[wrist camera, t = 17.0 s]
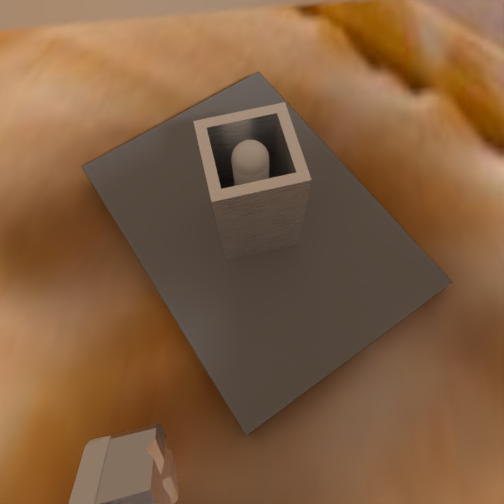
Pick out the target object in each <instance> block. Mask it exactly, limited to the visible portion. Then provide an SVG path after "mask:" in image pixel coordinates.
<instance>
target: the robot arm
mask: <svg viewBox="0 0 504 504" xmlns="http://www.w3.org/2000/svg"><path fill="white" fill-rule="evenodd" d="M165 443H166V435H165V432H164V430H163V428H162V425H160V424H154V425H150V426H146V427H141V428H137V429H133V430H129V431H124V432H120V433H116V434H113V435H110V436H106V437H102V438H97V439H93V440H90V441H89V442H88V443H87V445H86V446H85V448H84V452H83V455H82V458H81V462H80V465H79V469H78V472H77V476H76V479H75V482H74V486H73V489H72V493H71V496H70V500H69V503H68V504H175V502H176V500H177V499H178V497H179V483H178V474H177V467H176V463H175V459H174V456H173V453H172V451H171V450H170V449H168V448H166V447H165Z"/></svg>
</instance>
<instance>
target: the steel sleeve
mask: <svg viewBox="0 0 504 504" xmlns="http://www.w3.org/2000/svg"><path fill="white" fill-rule="evenodd" d="M193 122H194V127H195V131H196V136H197V140H198V144H199V149H200V153H201V158H202V162H203V167H204V171H205V175H206V180H207V184H208V189H209V193H210V198H211V202H212V206H213V210H214V214H215V218H216V222H217V226H218V230H219V234H220V238H221V242H222V246H223V250H224V254H225V258H226V261H227V260H231V259H235V258H240V257H244V256H248V255H253V254H257V253H262V252H266V251H270V250H275V249H279V248H283V247H288V246H292V245H296V244H299V239H300V234H301V229H302V224H303V219H304V214H305V210H306V205H307V200H308V195H309V190H310V185H311V177H310V174H309V171H308V168H307V165H306V162H305V159H304V156H303V153H302V150H301V147H300V145H299V142H298V139H297V136H296V133H295V130H294V127H293V124H292V121H291V118H290V115H289V112H288V109H287V107H286V104H285V102H283V103H278V104H273V105H268V106H263V107H259V108H254V109H249V110H244V111H239V112H235V113H230V114H225V115H220V116H215V117H210V118H206V119H201V120H196V121H193ZM245 140H256V141H258V142H260V143H262V144H263V145H264V146H265V147H266V149H267V151H268V154H269V179H264V180H259V181H255V182H250V183H246V184H241V185H237V186H235V185H234V177H233V169H232V162H231V157H232V152H233V150H234V148H235V147H236V146H237V145H238V144H239V143H240V142H242V141H245Z"/></svg>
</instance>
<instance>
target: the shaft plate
mask: <svg viewBox="0 0 504 504" xmlns="http://www.w3.org/2000/svg"><path fill="white" fill-rule="evenodd" d="M283 102H285V104H286V107H287V109H288V112H289V115H290V118H291V121H292V124H293V127H294V130H295V133H296V136H297V139H298V142H299V145H300V147H301V150H302V153H303V156H304V159H305V162H306V165H307V168H308V171H309V174H310V177H311V185H310V190H309V195H308V200H307V205H306V210H305V214H304V219H303V224H302V229H301V234H300V239H299V244H296V245H292V246H288V247H283V248H279V249H275V250H270V251H266V252H262V253H257V254H253V255H248V256H244V257H240V258H235V259H231V260H227V261H226V258H225V254H224V250H223V246H222V242H221V238H220V234H219V230H218V226H217V222H216V218H215V214H214V210H213V206H212V202H211V198H210V193H209V189H208V184H207V180H206V175H205V171H204V167H203V162H202V158H201V153H200V149H199V144H198V140H197V136H196V131H195V127H194V122H193V121H196V120H201V119H206V118H210V117H215V116H220V115H225V114H230V113H235V112H239V111H244V110H249V109H254V108H259V107H263V106H268V105H273V104H278V103H283ZM231 162H232V169H233V177H234V185H235V186H237V185H241V184H246V183H250V182H255V181H259V180H264V179H269V154H268V151H267V149H266V147H265V146H264V145H263V144H262V143H260V142H258V141H256V140H245V141H242V142H240V143H239V144H238V145H237V146H236V147H235V148H234V150H233V152H232V157H231ZM82 168H83V170H84V172H85V173H86V175H87V176H88V178H89V180H90V181H91V183H92V185H93V186H94V188H95V190H96V191H97V193H98V194H99V196H100V198H101V199H102V201H103V203H104V204H105V206H106V208H107V209H108V211H109V212H110V214H111V216H112V217H113V219H114V221H115V222H116V224H117V225H118V227H119V229H120V230H121V232H122V234H123V235H124V237H125V239H126V240H127V242H128V243H129V245H130V247H131V248H132V250H133V252H134V253H135V255H136V257H137V258H138V260H139V261H140V263H141V265H142V266H143V268H144V270H145V271H146V273H147V274H148V276H149V278H150V279H151V281H152V283H153V284H154V286H155V288H156V289H157V291H158V292H159V294H160V296H161V297H162V299H163V301H164V302H165V304H166V306H167V307H168V309H169V310H170V312H171V314H172V315H173V317H174V319H175V320H176V322H177V324H178V325H179V327H180V328H181V330H182V332H183V333H184V335H185V337H186V338H187V340H188V341H189V343H190V345H191V346H192V348H193V350H194V351H195V353H196V355H197V356H198V358H199V359H200V361H201V363H202V364H203V366H204V368H205V369H206V371H207V373H208V374H209V376H210V377H211V379H212V381H213V382H214V384H215V386H216V387H217V389H218V390H219V392H220V394H221V395H222V397H223V399H224V400H225V402H226V404H227V405H228V407H229V408H230V410H231V412H232V413H233V415H234V417H235V418H236V420H237V422H238V423H239V425H240V426H241V428H242V430H243V431H244V433H245V435H246V436H247V435H248V434H249V433H251V432H252V431H253V430H255V429H256V428H257V427H259V426H260V425H261V424H263V423H264V422H265V421H267V420H268V419H269V418H271V417H272V416H274V415H275V414H276V413H278V412H279V411H280V410H282V409H283V408H284V407H286V406H287V405H288V404H290V403H291V402H292V401H294V400H295V399H296V398H298V397H299V396H300V395H302V394H303V393H304V392H306V391H307V390H308V389H310V388H311V387H313V386H314V385H315V384H317V383H318V382H319V381H321V380H322V379H323V378H325V377H326V376H327V375H329V374H330V373H331V372H333V371H334V370H335V369H337V368H338V367H339V366H341V365H342V364H343V363H345V362H346V361H348V360H349V359H350V358H352V357H353V356H354V355H356V354H357V353H358V352H360V351H361V350H362V349H364V348H365V347H366V346H368V345H369V344H370V343H372V342H373V341H374V340H376V339H377V338H378V337H380V336H381V335H382V334H384V333H385V332H387V331H388V330H389V329H391V328H392V327H393V326H395V325H396V324H397V323H399V322H400V321H401V320H403V319H404V318H405V317H407V316H408V315H409V314H411V313H412V312H413V311H415V310H416V309H417V308H419V307H420V306H421V305H423V304H424V303H426V302H427V301H428V300H430V299H431V298H432V297H434V296H435V295H436V294H438V293H439V292H440V291H442V290H443V289H444V288H446V287H447V286H448V285H450V284H451V283H452V281H451V280H450V279H449V278H448V277H447V275H446V274H445V273H444V272H443V271H442V270H441V269H440V268H439V267H438V266H437V265H436V263H435V262H434V261H433V260H432V259H431V258H430V257H429V256H428V255H427V254H426V253H425V252H424V250H423V249H422V248H421V247H420V246H419V245H418V244H417V243H416V242H415V241H414V240H413V239H412V237H411V236H410V235H409V234H408V233H407V232H406V231H405V230H404V229H403V228H402V227H401V225H400V224H399V223H398V222H397V221H396V220H395V219H394V218H393V217H392V216H391V215H390V214H389V212H388V211H387V210H386V209H385V208H384V207H383V206H382V205H381V204H380V203H379V202H378V201H377V199H376V198H375V197H374V196H373V195H372V194H371V193H370V192H369V191H368V190H367V189H366V187H365V186H364V185H363V184H362V183H361V182H360V181H359V180H358V179H357V178H356V177H355V176H354V174H353V173H352V172H351V171H350V170H349V169H348V168H347V167H346V166H345V165H344V164H343V162H342V161H341V160H340V159H339V158H338V157H337V156H336V155H335V154H334V153H333V152H332V151H331V149H330V148H329V147H328V146H327V145H326V144H325V143H324V142H323V141H322V140H321V139H320V138H319V136H318V135H317V134H316V133H315V132H314V131H313V130H312V129H311V128H310V127H309V126H308V124H307V123H306V122H305V121H304V120H303V119H302V118H301V117H300V116H299V115H298V114H297V113H296V111H295V110H294V109H293V108H292V107H291V106H290V105H289V104H288V103H287V102H286V101H285V100H284V98H283V97H282V96H281V95H280V94H279V93H278V92H277V91H276V90H275V89H274V88H273V86H272V85H271V84H270V83H269V82H268V81H267V80H266V79H265V78H264V77H263V76H262V75H261V73H260V72H259V71H258V72H257V73H255V74H253V75H251V76H249V77H247V78H245V79H244V80H242V81H240V82H238V83H236V84H234V85H232V86H231V87H229V88H227V89H225V90H223V91H221V92H220V93H218V94H216V95H214V96H212V97H210V98H208V99H207V100H205V101H203V102H201V103H199V104H197V105H195V106H194V107H192V108H190V109H188V110H186V111H184V112H182V113H181V114H179V115H177V116H175V117H173V118H171V119H169V120H168V121H166V122H164V123H162V124H160V125H158V126H157V127H155V128H153V129H151V130H149V131H147V132H145V133H144V134H142V135H140V136H138V137H136V138H134V139H132V140H131V141H129V142H127V143H125V144H123V145H121V146H119V147H118V148H116V149H114V150H112V151H110V152H108V153H106V154H105V155H103V156H101V157H99V158H97V159H95V160H94V161H92V162H90V163H88V164H86V165H84V166H82Z"/></svg>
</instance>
